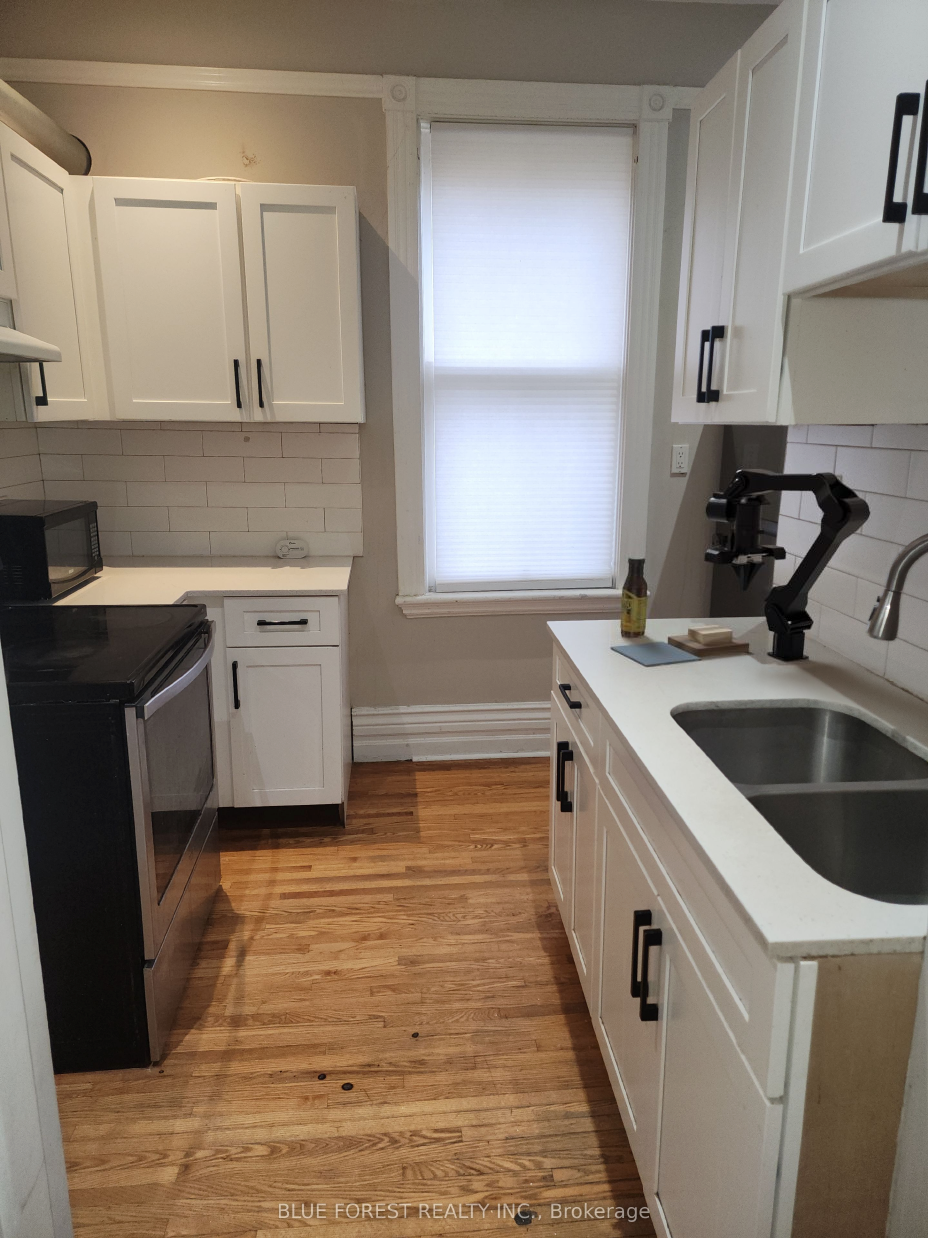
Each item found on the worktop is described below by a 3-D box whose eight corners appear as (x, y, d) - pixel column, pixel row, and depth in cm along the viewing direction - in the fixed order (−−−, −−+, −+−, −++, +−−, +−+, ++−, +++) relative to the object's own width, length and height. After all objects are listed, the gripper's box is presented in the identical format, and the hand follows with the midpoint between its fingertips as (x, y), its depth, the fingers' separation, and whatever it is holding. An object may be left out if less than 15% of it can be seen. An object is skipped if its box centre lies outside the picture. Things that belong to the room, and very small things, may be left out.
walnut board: (748, 651, 187) (749, 643, 187) (696, 657, 183) (697, 649, 182) (717, 639, 198) (717, 631, 198) (667, 644, 194) (667, 636, 193)
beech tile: (732, 641, 189) (732, 630, 188) (702, 644, 186) (703, 633, 186) (716, 635, 194) (717, 625, 194) (687, 638, 192) (688, 628, 191)
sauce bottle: (616, 633, 206) (618, 555, 201) (639, 631, 207) (642, 554, 202) (626, 639, 200) (628, 559, 195) (649, 637, 201) (653, 558, 196)
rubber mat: (701, 660, 181) (701, 658, 181) (645, 666, 177) (645, 664, 177) (662, 642, 196) (662, 641, 196) (610, 648, 191) (610, 646, 191)
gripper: (758, 518, 197) (754, 582, 201) (692, 522, 191) (689, 587, 195) (790, 523, 187) (785, 590, 190) (721, 528, 181) (717, 596, 185)
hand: (743, 590), depth 190 cm, fingers closed
